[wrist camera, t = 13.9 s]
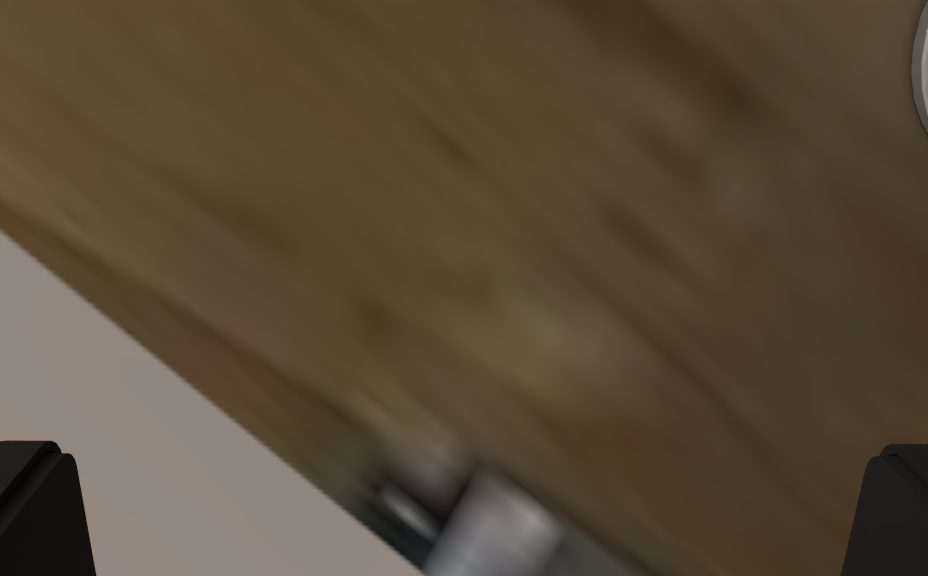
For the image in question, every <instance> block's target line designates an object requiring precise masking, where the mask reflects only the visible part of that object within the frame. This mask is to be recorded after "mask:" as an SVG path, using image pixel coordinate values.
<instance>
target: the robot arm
mask: <svg viewBox="0 0 928 576" xmlns="http://www.w3.org/2000/svg"><path fill="white" fill-rule="evenodd" d="M911 77H912V85H913V94H914V101H915V104H916V107H917V110H918V113H919V116H920V119H921V122H922V124H923V126H924V128H925V129H926V131H927V133H928V0H927V3H926V5H925V7H924V9H923V12H922V14H921V17H920V21H919V25H918V28H917V32H916V36H915V40H914V44H913V55H912V68H911ZM0 576H96V572H95V566H94V561H93V555H92V549H91V543H90V538H89V533H88V526H87V521H86V515H85V510H84V504H83V498H82V493H81V487H80V482H79V476H78V470H77V465H76V462H75V459H74V457H73V456H72V455H71V454H69V453H61V449H60V448H59V446H58V445H57V443H55V442H53V441H0ZM841 576H928V444H890V445H888V446H886V447H885V448H884V449H883V450H882V452H881V454H880V456H875V457H873V458H871V459H870V460H869V462H868V464H867V466H866V470H865V474H864V478H863V482H862V487H861V491H860V495H859V500H858V504H857V508H856V513H855V517H854V521H853V525H852V530H851V534H850V538H849V543H848V547H847V551H846V556H845V560H844V564H843V568H842V573H841Z"/></svg>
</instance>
